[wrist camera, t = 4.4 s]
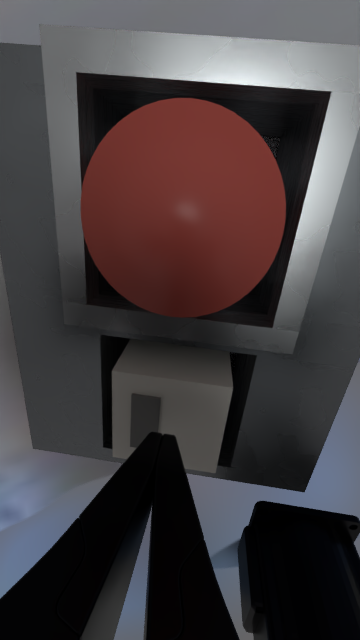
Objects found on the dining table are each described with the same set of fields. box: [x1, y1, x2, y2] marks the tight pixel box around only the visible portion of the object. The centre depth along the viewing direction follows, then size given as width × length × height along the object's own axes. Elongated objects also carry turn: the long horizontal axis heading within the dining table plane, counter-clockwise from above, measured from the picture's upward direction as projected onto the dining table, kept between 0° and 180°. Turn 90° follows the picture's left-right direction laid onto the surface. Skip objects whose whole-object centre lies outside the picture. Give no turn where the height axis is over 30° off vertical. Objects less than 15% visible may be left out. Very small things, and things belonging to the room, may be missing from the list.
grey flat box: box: [0, 24, 360, 492], centre depth 11 cm, size 12×14×5 cm
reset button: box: [81, 98, 286, 318], centre depth 8 cm, size 4×4×5 cm
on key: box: [112, 339, 233, 473], centre depth 12 cm, size 4×4×5 cm
